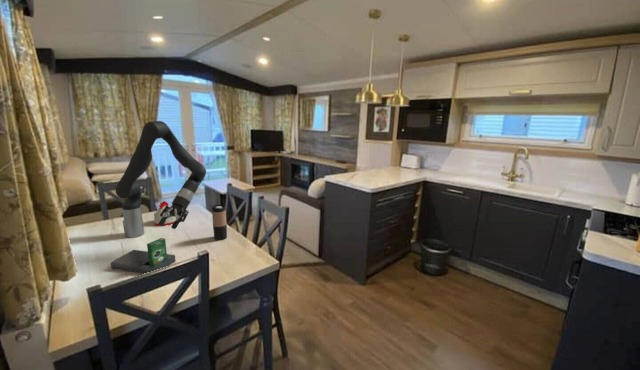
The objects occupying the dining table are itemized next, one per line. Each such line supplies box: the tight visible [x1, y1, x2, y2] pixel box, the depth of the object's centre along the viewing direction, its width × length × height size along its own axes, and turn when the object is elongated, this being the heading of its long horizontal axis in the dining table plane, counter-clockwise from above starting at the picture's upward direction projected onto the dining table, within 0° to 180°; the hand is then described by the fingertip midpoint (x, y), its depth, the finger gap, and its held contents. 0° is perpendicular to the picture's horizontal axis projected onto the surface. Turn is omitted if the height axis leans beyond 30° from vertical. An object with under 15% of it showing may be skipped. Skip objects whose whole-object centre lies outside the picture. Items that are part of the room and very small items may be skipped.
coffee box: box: [146, 237, 168, 266], centre depth 133 cm, size 8×3×13 cm, turn 158°
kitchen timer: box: [153, 200, 176, 227], centre depth 188 cm, size 14×14×15 cm
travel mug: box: [211, 204, 228, 241], centre depth 165 cm, size 8×8×20 cm
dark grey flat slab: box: [110, 249, 176, 274], centre depth 135 cm, size 24×13×4 cm, turn 79°
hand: (166, 226), depth 137 cm, fingers open, 8 cm apart
